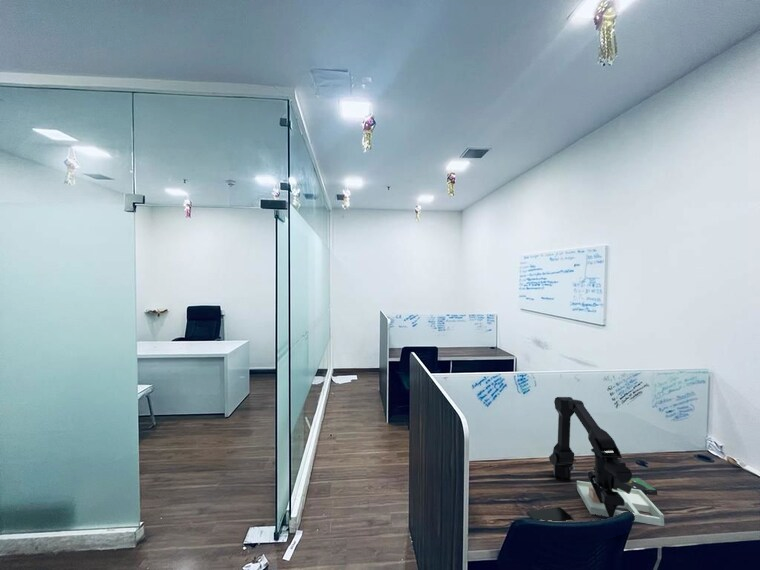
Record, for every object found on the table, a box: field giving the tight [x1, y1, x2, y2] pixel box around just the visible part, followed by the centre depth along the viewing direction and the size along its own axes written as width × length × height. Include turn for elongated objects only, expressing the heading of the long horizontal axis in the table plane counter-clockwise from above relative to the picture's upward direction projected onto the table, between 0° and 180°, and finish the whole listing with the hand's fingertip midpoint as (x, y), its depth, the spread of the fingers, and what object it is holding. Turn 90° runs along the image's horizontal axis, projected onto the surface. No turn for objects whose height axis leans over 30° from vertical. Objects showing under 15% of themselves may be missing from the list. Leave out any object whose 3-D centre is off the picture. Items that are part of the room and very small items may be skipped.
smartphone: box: [526, 506, 575, 522], centre depth 121 cm, size 8×1×16 cm
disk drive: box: [629, 476, 658, 496], centre depth 140 cm, size 10×3×15 cm
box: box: [576, 480, 665, 527], centre depth 127 cm, size 24×17×4 cm
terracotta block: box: [589, 486, 600, 502], centre depth 128 cm, size 5×5×4 cm
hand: (606, 509), depth 120 cm, fingers open, 8 cm apart
